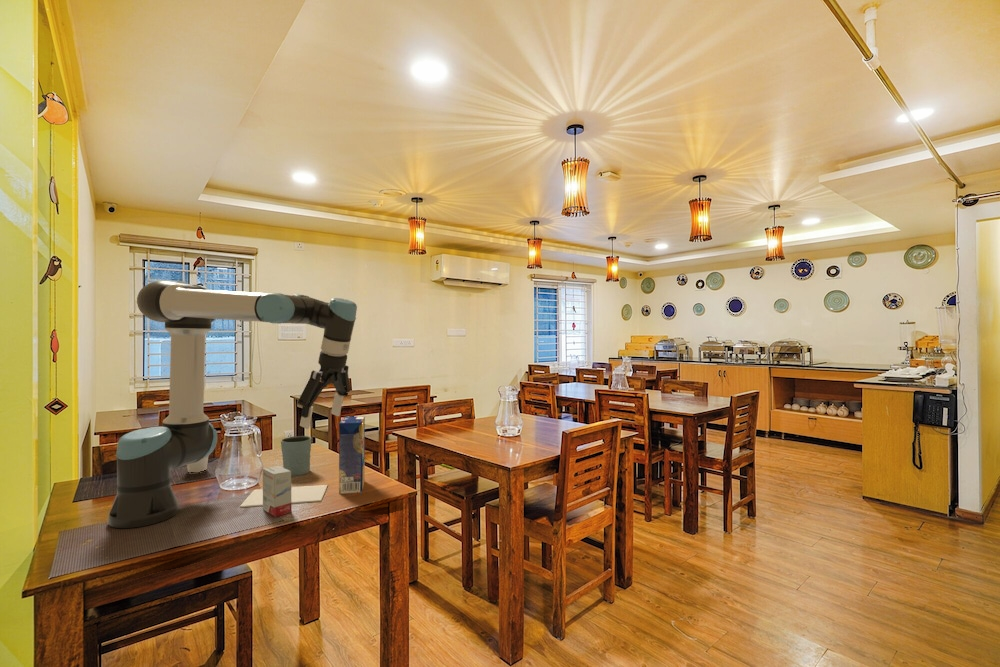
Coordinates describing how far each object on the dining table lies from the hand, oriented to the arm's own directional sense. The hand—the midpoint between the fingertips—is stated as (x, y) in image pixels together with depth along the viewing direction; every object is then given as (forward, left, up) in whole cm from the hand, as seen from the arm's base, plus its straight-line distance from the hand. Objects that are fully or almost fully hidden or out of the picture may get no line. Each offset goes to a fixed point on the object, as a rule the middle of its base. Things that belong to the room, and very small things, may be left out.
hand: (320, 420), depth 137 cm
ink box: (-11, -4, -25) cm, 27 cm away
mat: (-11, +8, -24) cm, 28 cm away
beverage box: (+8, +12, -25) cm, 29 cm away
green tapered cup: (-13, +33, -25) cm, 43 cm away
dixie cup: (-48, +42, -25) cm, 68 cm away
